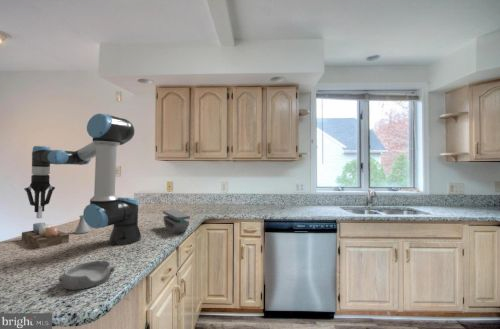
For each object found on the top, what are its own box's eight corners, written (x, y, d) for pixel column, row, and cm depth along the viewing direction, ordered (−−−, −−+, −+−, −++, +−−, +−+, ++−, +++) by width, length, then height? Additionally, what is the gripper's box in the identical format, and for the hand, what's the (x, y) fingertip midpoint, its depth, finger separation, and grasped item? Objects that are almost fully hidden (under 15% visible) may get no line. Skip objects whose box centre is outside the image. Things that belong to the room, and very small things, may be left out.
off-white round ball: (52, 234, 128) (53, 225, 128) (41, 237, 124) (41, 227, 124) (49, 233, 131) (49, 224, 131) (37, 235, 127) (37, 225, 127)
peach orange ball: (59, 237, 124) (59, 227, 124) (47, 239, 120) (47, 229, 120) (55, 235, 127) (55, 226, 127) (43, 238, 122) (43, 228, 123)
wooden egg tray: (68, 242, 126) (68, 234, 126) (39, 248, 116) (39, 240, 116) (49, 234, 139) (49, 227, 139) (21, 239, 129) (21, 232, 129)
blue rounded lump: (46, 232, 132) (46, 223, 133) (35, 234, 128) (35, 225, 128) (43, 231, 135) (43, 222, 135) (31, 233, 131) (31, 223, 131)
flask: (82, 234, 141) (82, 217, 141) (71, 233, 142) (72, 216, 142) (92, 231, 148) (93, 214, 148) (82, 230, 149) (83, 214, 150)
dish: (119, 274, 90) (119, 261, 90) (88, 293, 76) (89, 278, 76) (85, 271, 92) (85, 258, 92) (49, 289, 79) (50, 273, 79)
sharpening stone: (189, 234, 145) (189, 216, 145) (176, 236, 140) (176, 217, 140) (174, 225, 164) (174, 209, 165) (162, 227, 160) (163, 210, 160)
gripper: (52, 174, 140) (50, 215, 139) (22, 174, 128) (20, 219, 128) (58, 174, 136) (56, 216, 135) (27, 175, 125) (25, 221, 124)
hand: (39, 217), depth 132 cm, fingers closed
